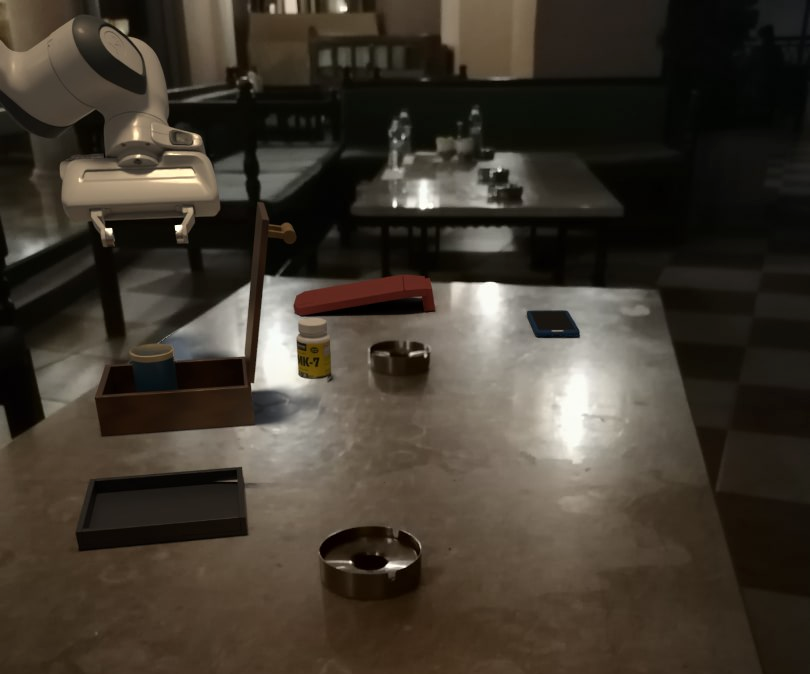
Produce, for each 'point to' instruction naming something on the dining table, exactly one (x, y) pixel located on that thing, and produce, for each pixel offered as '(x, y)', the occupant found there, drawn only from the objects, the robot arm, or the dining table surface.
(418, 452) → the dining table surface
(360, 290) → the red ramp
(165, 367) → the canister
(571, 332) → the cell phone
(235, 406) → the chest
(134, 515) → the tray
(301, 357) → the supplement bottle
